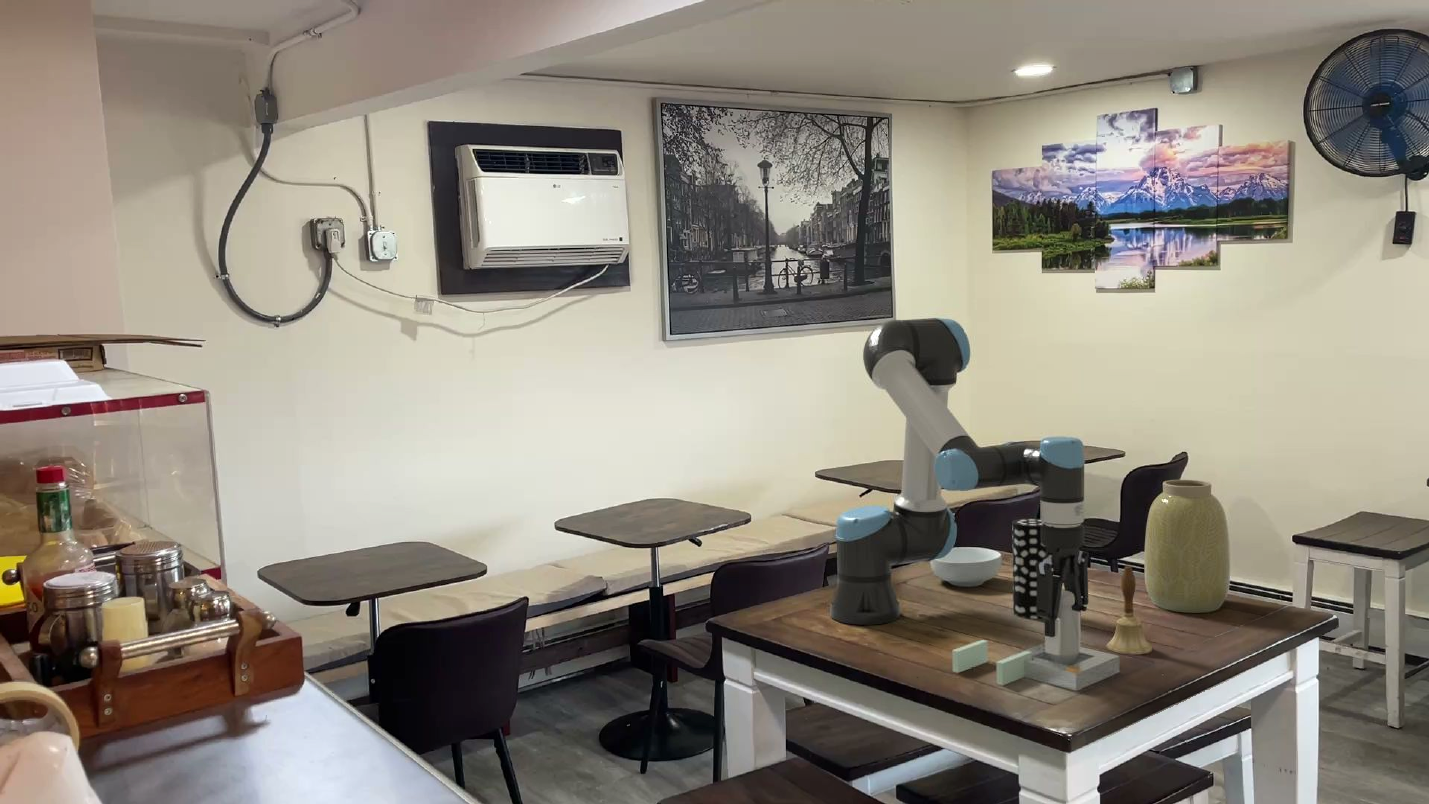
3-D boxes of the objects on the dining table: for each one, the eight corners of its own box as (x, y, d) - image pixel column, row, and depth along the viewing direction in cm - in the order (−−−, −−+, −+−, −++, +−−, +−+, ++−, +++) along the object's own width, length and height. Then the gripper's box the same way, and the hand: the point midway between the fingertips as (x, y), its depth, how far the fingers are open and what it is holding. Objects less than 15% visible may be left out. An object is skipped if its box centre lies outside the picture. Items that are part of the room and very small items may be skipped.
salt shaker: (1081, 667, 200) (1080, 596, 199) (1047, 666, 201) (1047, 595, 200) (1077, 657, 206) (1076, 587, 204) (1044, 656, 207) (1044, 587, 206)
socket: (1007, 672, 204) (1007, 653, 204) (1051, 655, 213) (1051, 637, 213) (1076, 691, 194) (1076, 671, 193) (1119, 672, 202) (1119, 653, 202)
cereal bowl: (960, 571, 282) (959, 543, 281) (1015, 582, 269) (1015, 553, 268) (915, 583, 271) (915, 554, 271) (971, 595, 258) (971, 565, 258)
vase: (1240, 616, 235) (1241, 489, 232) (1154, 615, 237) (1154, 489, 235) (1217, 595, 251) (1217, 476, 249) (1136, 594, 254) (1136, 477, 252)
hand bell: (1098, 649, 216) (1098, 568, 215) (1118, 639, 222) (1118, 560, 221) (1140, 658, 210) (1140, 574, 209) (1159, 647, 216) (1159, 566, 215)
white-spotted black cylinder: (1013, 618, 239) (1012, 525, 237) (1012, 607, 247) (1011, 518, 245) (1054, 619, 237) (1053, 526, 235) (1052, 609, 245) (1051, 518, 243)
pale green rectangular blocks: (952, 671, 206) (952, 650, 205) (982, 660, 212) (982, 639, 211) (1002, 685, 197) (1002, 663, 197) (1032, 673, 203) (1031, 652, 203)
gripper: (1050, 534, 192) (1051, 665, 194) (1109, 518, 204) (1109, 642, 206) (1013, 528, 198) (1014, 656, 200) (1072, 513, 210) (1073, 634, 212)
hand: (1062, 649), depth 203 cm, fingers closed on salt shaker, 6 cm apart
